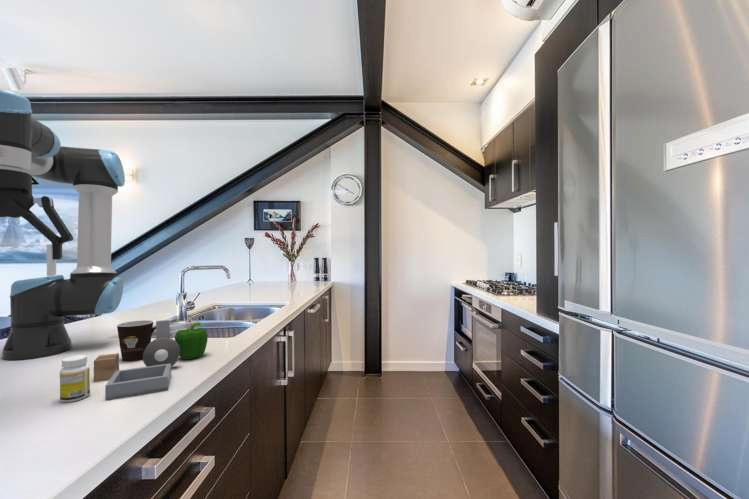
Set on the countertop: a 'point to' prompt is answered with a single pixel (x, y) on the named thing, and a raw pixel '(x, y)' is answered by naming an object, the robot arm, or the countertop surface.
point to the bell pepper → (192, 341)
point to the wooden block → (105, 366)
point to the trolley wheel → (161, 347)
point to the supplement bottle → (74, 379)
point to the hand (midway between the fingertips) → (6, 277)
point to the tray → (138, 381)
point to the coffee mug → (134, 339)
